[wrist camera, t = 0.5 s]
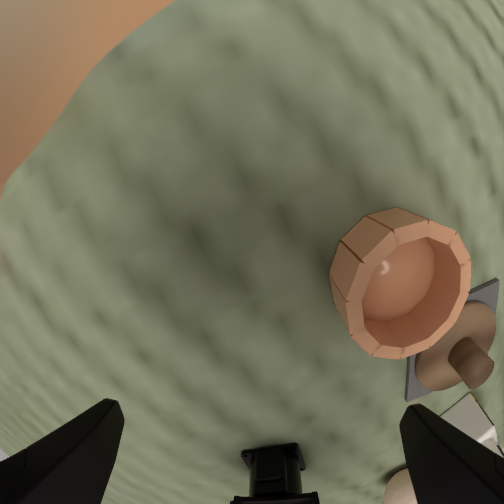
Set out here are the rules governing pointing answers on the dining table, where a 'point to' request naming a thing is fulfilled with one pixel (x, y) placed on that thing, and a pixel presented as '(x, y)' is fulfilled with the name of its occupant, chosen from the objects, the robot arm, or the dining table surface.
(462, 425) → the white boxy piece
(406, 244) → the bowl
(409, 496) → the egg
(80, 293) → the dining table surface
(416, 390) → the mat
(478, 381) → the lid
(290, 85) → the dining table surface
